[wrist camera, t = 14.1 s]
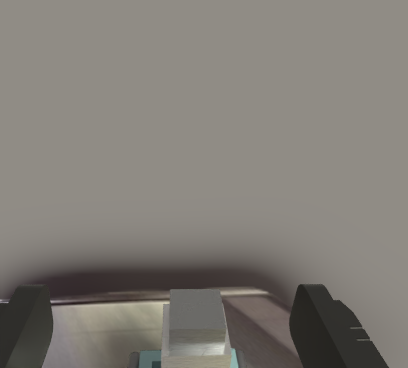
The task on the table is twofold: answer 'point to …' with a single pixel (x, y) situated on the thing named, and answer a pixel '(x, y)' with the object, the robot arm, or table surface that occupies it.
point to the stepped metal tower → (195, 330)
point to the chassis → (151, 360)
